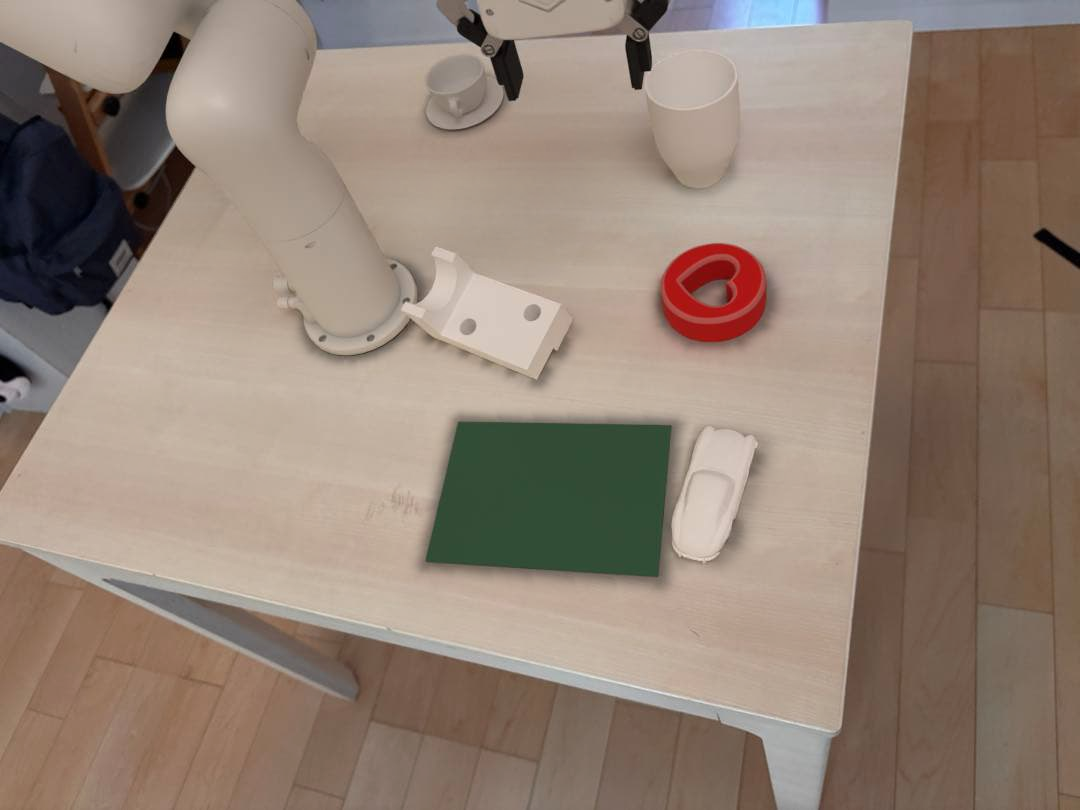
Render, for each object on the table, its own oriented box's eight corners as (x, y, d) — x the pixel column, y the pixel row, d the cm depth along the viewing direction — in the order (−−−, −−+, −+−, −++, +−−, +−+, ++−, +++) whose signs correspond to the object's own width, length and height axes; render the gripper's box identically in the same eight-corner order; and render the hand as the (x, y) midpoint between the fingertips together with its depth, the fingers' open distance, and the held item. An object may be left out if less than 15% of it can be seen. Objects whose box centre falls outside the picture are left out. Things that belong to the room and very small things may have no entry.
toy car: (760, 444, 73) (759, 423, 71) (722, 572, 68) (719, 555, 65) (704, 432, 75) (701, 411, 72) (663, 556, 70) (658, 539, 67)
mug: (726, 207, 89) (720, 113, 79) (646, 195, 92) (630, 103, 82) (760, 130, 94) (758, 32, 84) (683, 121, 97) (672, 26, 87)
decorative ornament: (652, 280, 86) (648, 259, 83) (747, 251, 85) (746, 229, 82) (679, 354, 80) (676, 334, 78) (781, 324, 80) (781, 302, 77)
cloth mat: (426, 562, 75) (425, 560, 74) (459, 423, 82) (458, 421, 82) (658, 577, 69) (657, 575, 69) (671, 426, 76) (671, 425, 76)
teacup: (431, 85, 111) (419, 54, 108) (506, 72, 109) (496, 40, 105) (423, 138, 106) (410, 107, 102) (501, 125, 104) (491, 93, 100)
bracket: (437, 340, 89) (400, 310, 82) (468, 281, 90) (435, 246, 83) (540, 383, 83) (510, 354, 77) (573, 319, 84) (546, 285, 78)
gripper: (377, -98, 53) (461, 125, 67) (660, -144, 48) (687, 107, 62) (405, -161, 57) (479, 63, 71) (671, -209, 52) (693, 41, 66)
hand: (576, 83), depth 66 cm, fingers open, 9 cm apart
